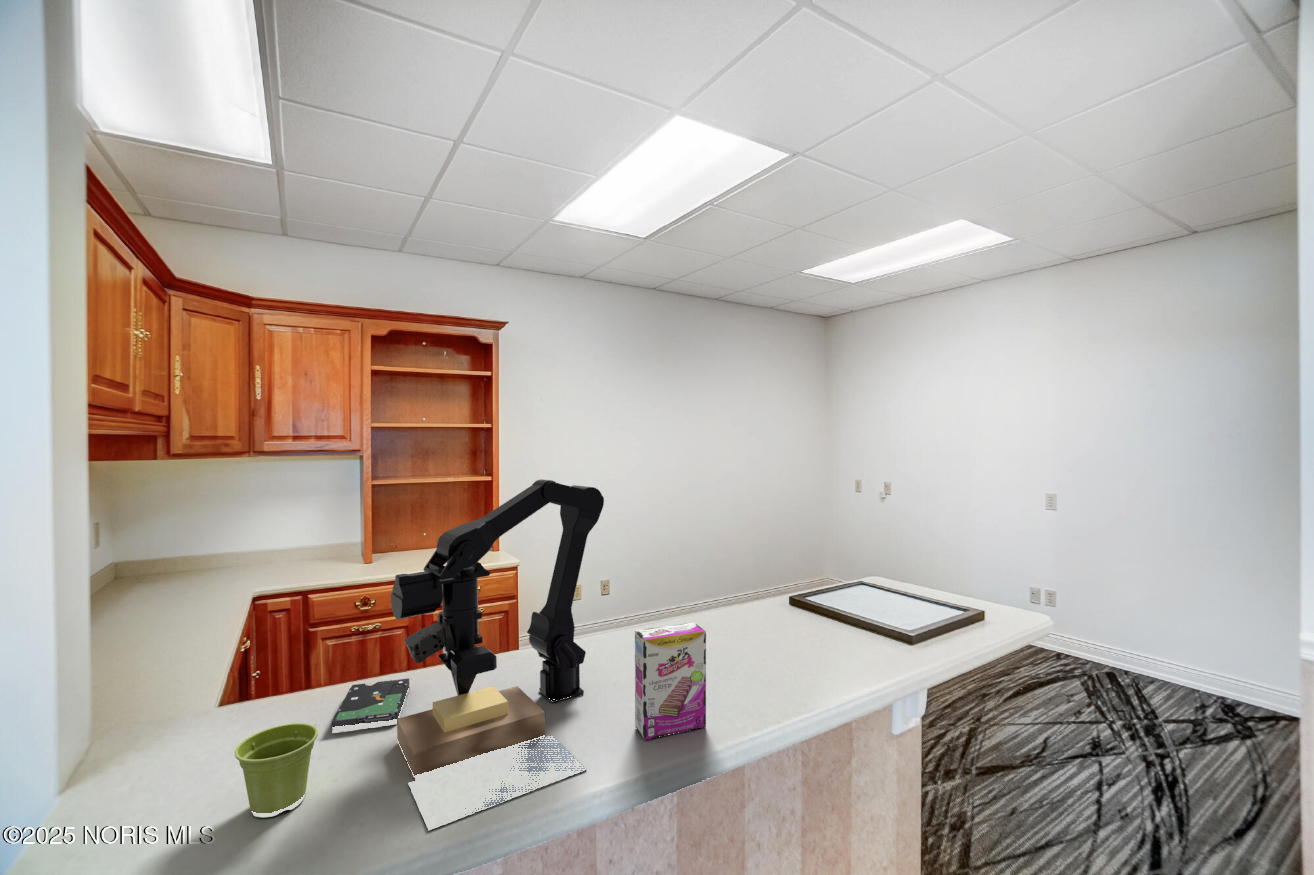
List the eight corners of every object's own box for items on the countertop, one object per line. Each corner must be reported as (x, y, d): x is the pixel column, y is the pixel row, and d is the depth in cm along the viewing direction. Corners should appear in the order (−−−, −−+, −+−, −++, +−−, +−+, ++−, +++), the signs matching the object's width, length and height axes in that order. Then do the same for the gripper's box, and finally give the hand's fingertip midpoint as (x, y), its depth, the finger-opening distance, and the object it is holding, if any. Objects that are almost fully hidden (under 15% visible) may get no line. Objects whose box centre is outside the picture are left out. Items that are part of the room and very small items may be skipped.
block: (493, 697, 99) (493, 686, 99) (508, 713, 94) (507, 701, 94) (432, 714, 94) (432, 702, 94) (444, 732, 88) (444, 719, 88)
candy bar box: (644, 743, 92) (643, 639, 92) (634, 728, 96) (632, 629, 96) (708, 728, 96) (707, 629, 96) (695, 715, 100) (694, 620, 100)
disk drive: (351, 699, 110) (330, 737, 96) (350, 684, 110) (330, 720, 96) (410, 691, 113) (399, 727, 99) (409, 677, 113) (398, 711, 99)
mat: (552, 735, 94) (552, 734, 94) (586, 770, 84) (586, 768, 84) (407, 784, 82) (407, 782, 82) (428, 831, 72) (428, 829, 72)
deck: (517, 708, 104) (517, 685, 104) (545, 736, 94) (544, 711, 94) (397, 743, 93) (396, 718, 93) (414, 780, 83) (413, 752, 83)
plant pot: (333, 782, 83) (331, 721, 83) (294, 827, 73) (292, 758, 73) (265, 784, 82) (264, 723, 82) (218, 830, 73) (216, 761, 73)
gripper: (397, 601, 101) (399, 691, 101) (422, 631, 85) (424, 737, 85) (463, 590, 107) (464, 675, 107) (496, 616, 91) (498, 715, 91)
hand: (462, 698), depth 97 cm, fingers closed
